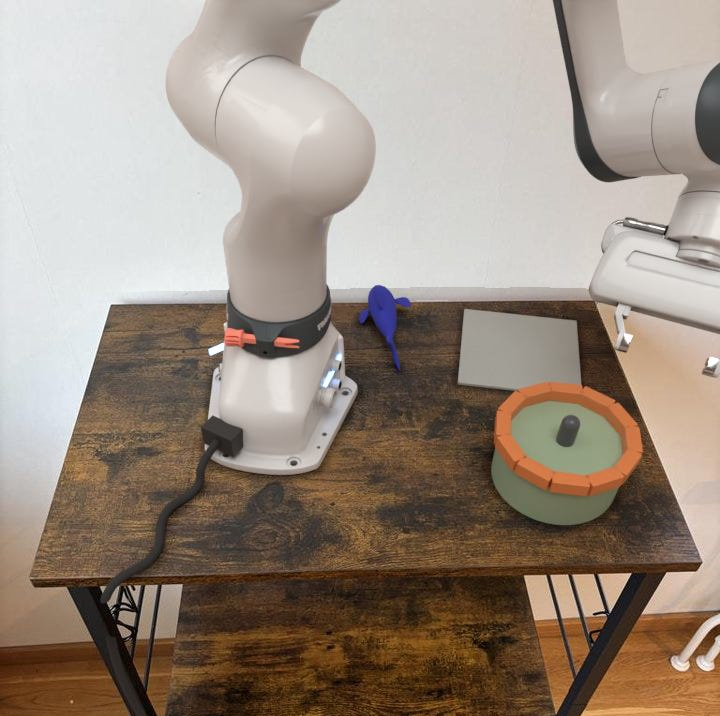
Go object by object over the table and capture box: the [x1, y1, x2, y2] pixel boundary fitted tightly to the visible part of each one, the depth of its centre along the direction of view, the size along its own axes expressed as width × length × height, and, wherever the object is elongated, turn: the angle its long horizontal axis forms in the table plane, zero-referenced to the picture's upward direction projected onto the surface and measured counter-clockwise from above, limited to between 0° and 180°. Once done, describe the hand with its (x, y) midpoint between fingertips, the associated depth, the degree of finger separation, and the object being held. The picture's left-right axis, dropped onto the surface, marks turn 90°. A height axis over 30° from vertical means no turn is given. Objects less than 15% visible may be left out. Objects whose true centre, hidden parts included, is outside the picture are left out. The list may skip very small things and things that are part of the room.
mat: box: [457, 308, 582, 392], centre depth 100 cm, size 16×16×1 cm
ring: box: [493, 382, 644, 496], centre depth 80 cm, size 16×16×2 cm
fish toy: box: [358, 284, 412, 372], centre depth 99 cm, size 15×8×7 cm, turn 7°
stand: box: [490, 401, 623, 526], centre depth 82 cm, size 14×14×10 cm
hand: (664, 363), depth 78 cm, fingers open, 8 cm apart
